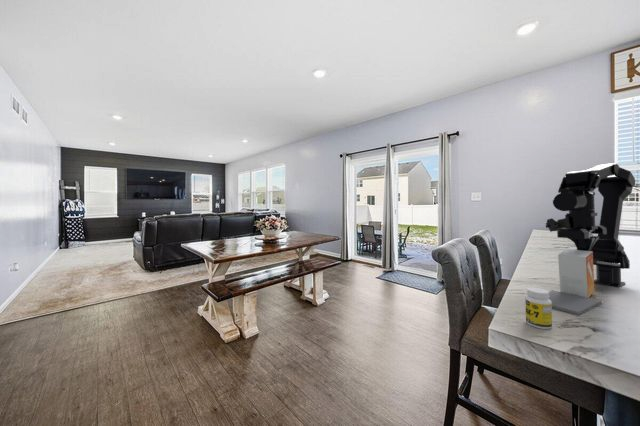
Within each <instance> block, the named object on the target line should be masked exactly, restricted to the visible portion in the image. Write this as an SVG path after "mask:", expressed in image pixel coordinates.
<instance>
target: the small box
mask: <svg viewBox="0 0 640 426" xmlns="http://www.w3.org/2000/svg"><path fill="white" fill-rule="evenodd" d="M557 259H558V272H559V274H558V276H559V292H563V293H568V294H573V295H577V296H582V297H587V298H591V296H592V294H594V292H595V283H594V280H595V272H594V269H595V268H594V265H593V251H583V250H577V249H571V248H565V249H564V250H562V251H561V252H560V253H558V258H557Z"/></svg>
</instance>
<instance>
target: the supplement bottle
mask: <svg viewBox="0 0 640 426" xmlns="http://www.w3.org/2000/svg"><path fill="white" fill-rule="evenodd" d="M549 291H550V290H546V289H544V288H540V287H539V288H538V287H528V288H527V289H526V296H525V322H526V324H528V325H529V326H531V327H534V328H537V329H542V330H549V329H551V328H552V327H553V315H552V314H553V313H552V312H553V308H552V302H551V300H549V299H548V298H549Z"/></svg>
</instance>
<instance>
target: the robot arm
mask: <svg viewBox="0 0 640 426" xmlns="http://www.w3.org/2000/svg"><path fill="white" fill-rule="evenodd" d="M634 176H635V175H633V173H632V172H631V171H630V170H628V169H625V168H623V167H620V165H619V164H618V163H614V162H613V163H612V162H610V163H605V164H604V163H603V164H598V165H595V166H594V167H592V168H591V167H590V168H589V169H586V170H578V171H569V172H566V173H565V174H564V176H563V177H562V180H561V183H560V184H559V188H558V191H557V192H558V194H556V196H554V198H553V200H552V205H553V206H554V208H555V209H556V210H559V211H561V212H568V213H565V216H564V218H560V219H556V218H555V217H553V218H552V217H551V218H548V219H546V223H545V227H546V229H548V230H549V232H550V233H551V232H556V236H557V238H563V239H567V240H570V241H572V242H573V244H574V245H575V248H576V250H583V251H593V266H595V272H596V277H595V278H594V284H600V285H601V284H602V285H608V286H612V287H619V288H620V287H622V286H624V285H626V282H624V281H622V270H624V269H625V270H626V269H628V270H629V269H630V268H631V267H630V265H631V263H630V260H629V256H628V255H627V253H626V251H625V247H624V246H623V244H622V243H621V242H620V241H619V234H620V233H619V232H620V226H621V218H622V212H623V204H624V200H625V199H626V198H627V197H629V196H630V195H631V194H632V191H633V188H634V187H636V178H635V177H634ZM596 189H597V191H598V192H599V193H600V195H601V197H603V199H602V206H601V211H600V213H601V214H600V220H599V225H596V217H597V216H598V212H595V211H596V209H595V195H596V192H595V190H596ZM594 234H596V236H594Z"/></svg>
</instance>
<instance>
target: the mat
mask: <svg viewBox="0 0 640 426" xmlns="http://www.w3.org/2000/svg"><path fill="white" fill-rule="evenodd" d="M548 291H549V298H548V299H549V300H551V302H552V309H554V310H558V311H562V312H566V313H569V314H574V315H577V316H581V315H582V314H584V313H586V312H589V311H590V310H592V309H594V308H596V307H598V306H599V305H602V302H603V301H602V300H599V299H595V298H591V297H589V298H587V297H582V296H577V295H573V294H568V293H563V292H560V290H558V291H557V290H554V289H553V290H548Z"/></svg>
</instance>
